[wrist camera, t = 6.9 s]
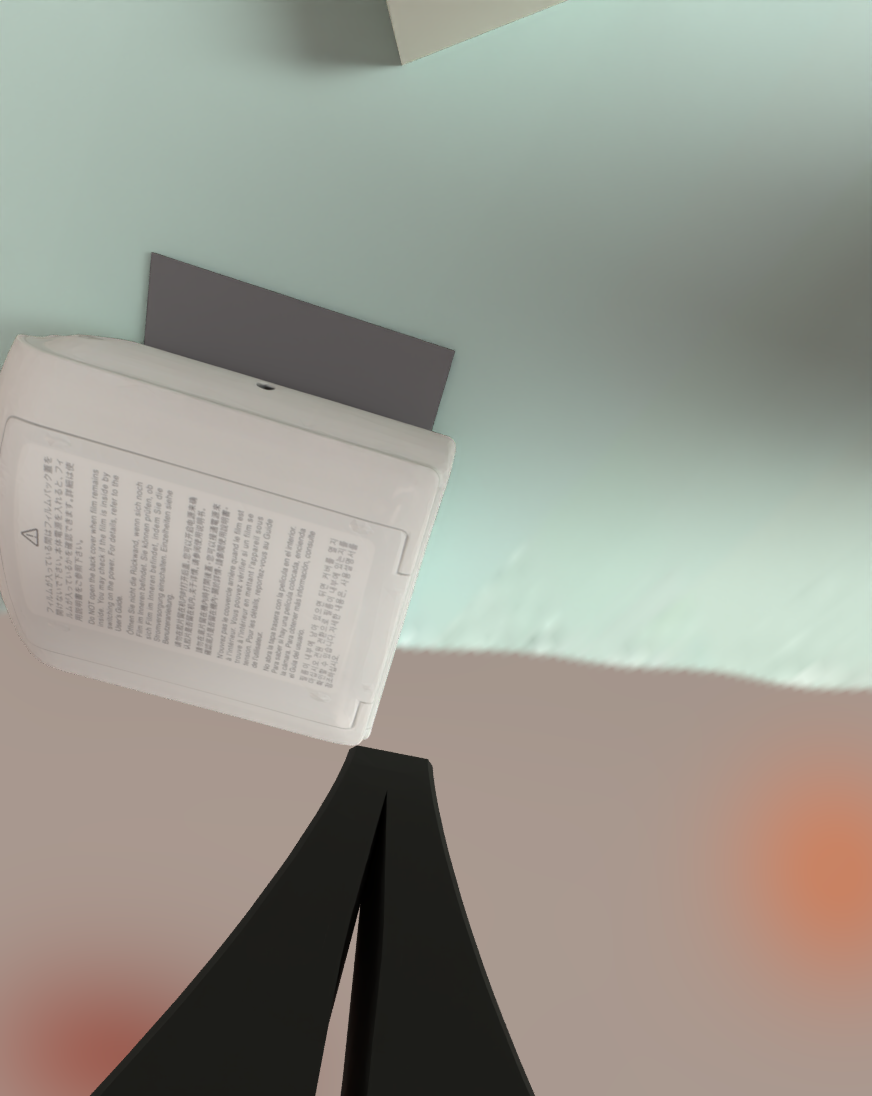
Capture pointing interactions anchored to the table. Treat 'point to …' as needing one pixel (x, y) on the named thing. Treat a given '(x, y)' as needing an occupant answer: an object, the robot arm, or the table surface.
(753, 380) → the table surface
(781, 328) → the table surface
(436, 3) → the card box
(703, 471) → the table surface
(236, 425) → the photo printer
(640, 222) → the table surface
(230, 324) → the mat
